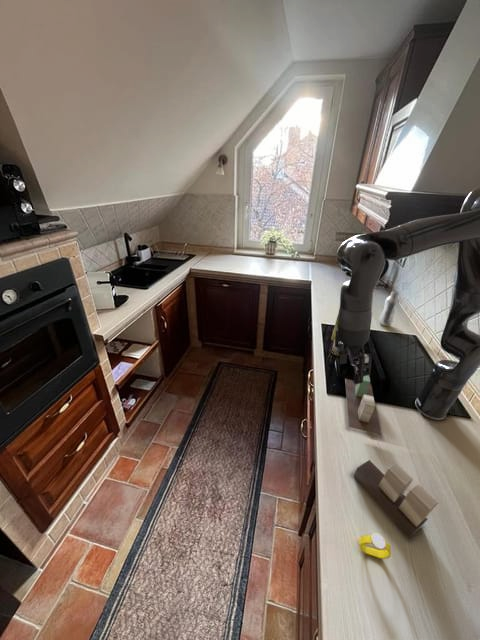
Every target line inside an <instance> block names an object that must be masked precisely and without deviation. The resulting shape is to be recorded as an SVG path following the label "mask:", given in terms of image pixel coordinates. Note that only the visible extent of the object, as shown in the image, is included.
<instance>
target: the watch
mask: <svg viewBox="0 0 480 640" xmlns="http://www.w3.org/2000/svg"><path fill="white" fill-rule="evenodd" d="M358 542H359V548H360V550H361V552H363V553H364V554H366V555H368V556H372V557H373V558H374V557H375V558H377V559H383V560H384V559H385V560H386V559H389V558H390V557H391V556H392V552H391V546H390V544H389V543H388V542H387V541H386V540H385V538H384V537H383V536H382V534H380V533H378V532H373V533H371V535H368V534H367V535H363V536H360V538H359V540H358ZM367 544H370V545H372V546H373V547H374V548H373V547H370V546H367Z"/></svg>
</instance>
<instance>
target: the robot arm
mask: <svg viewBox="0 0 480 640" xmlns="http://www.w3.org/2000/svg"><path fill="white" fill-rule="evenodd" d="M452 244H458V250H457V258H456V268H455V273H454V274H455V275H454V278H453V283H452V289H451V298H450V304H449V309H448V314H447V318H446V322H445V325H444V329H443V331H442V335H441V337H440V348H441V349H442V350H443V351H444V352H445V353H446V354H449V355H450V356H451V357H454V358H455V359H457V360H458V361H457V360H456V361H455V360H452V359H440V360H437V361H436V363H435V364H434V367H433V368H432V370H431V372H430V374H429V376H428V378H427V379H426V381H425V383H424V385H423V387H422V389H421V390H420V393H419V395H418V397H417V398H416V399H415V402H414V403H415V404H414V405H415V407H416V408H417V410H419V412H420V414H421V415H422V416H424V417H425V418H427V419H430V420H433V421H443V420H445V418H446V416H447V414H448V413H449V411H450V410H451V408H452V407H453V405H454V403H455V402H456V400H457V399H458V398H459V396H460V394H461V393H462V391H463V390H464V388H465V386H466V384H467V383H468V381H469V380H470V379H471V378H472V376H473V375H474V374H475V373H476V372H477V370H479V368H480V334H479V333H477V332H474V331H472V330H471V329H469V327H468V324H469V321H470V319H472V318H473V317H474V316H477V315H479V314H480V185H478V186H477V187H474V189H473V190H471V191H470V192H469V194H467V196H466V197H465V199H464V201H463V203H462V205H461V208H460V212H457V213H451V214H443V215H435V216H429V217H424V218H418V219H415V220H411V221H408V222H405V223H403V224H400V225H397V226H394V227H391V228H389V229H385V230H379V231H378V230H377V231H373V232H367V233H361V234H357V235H354V236H352V237H350V238H347V239H346V240H345V241H343V242H342V243H341V244H340V246H339V247H338V249H337V251H336V260H337V262H338V263H339V265H340V266H341V267H343V268H344V269H346V270H348V271H350V272H351V273H350V274H351V276H350V279H349V280H346V281H345V282H343V283H342V285H341V287H340V295H339V296H340V297H339V299H340V300H339V309H338V314H337V316H338V329H337V330H336V336H335V347H336V348H337V347H338V349H337V350H338V353H339V356H338V361H337V363H338V364H339V365H344V364H347V362H348V360H349V363H350V366H352V367H353V382H354V384H360V383H363V377H364V376H368V375H369V376H371V372H372V371H371V370H372V362H373V361H372V359H373V356H372V354H371V353H366V352H365V347H364V346H365V344H367V342H369V340H370V334H371V327H372V320H373V302H374V292H375V290H376V288H377V285H378V284H379V280H380V278H381V275H382V273H383V271H384V268H385V265H386V261H400V260H403V259H405V258H409V257H412V256H415V255H418V254H421V253H424V252H427V251H430V250H433V249H437V248H440V247H444V246H448V245H452ZM339 341H341V343H339ZM357 359H358V360H357Z"/></svg>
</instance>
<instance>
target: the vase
mask: <svg viewBox="0 0 480 640" xmlns="http://www.w3.org/2000/svg"><path fill="white" fill-rule="evenodd" d="M337 328H338V315H337V317H336V320H335V323H334V328H333V331H332V334H331V337H330V340H331V341H332V342H333V343H334V341H335V336H336V330H337Z"/></svg>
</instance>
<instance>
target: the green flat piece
mask: <svg viewBox="0 0 480 640" xmlns="http://www.w3.org/2000/svg"><path fill="white" fill-rule="evenodd" d="M369 384H371V377H370V375H368V376H364V377H363V383H360V384H356V386H355V392H356V396H360V397H363V395H366V392H367V389H368V387H369Z"/></svg>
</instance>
